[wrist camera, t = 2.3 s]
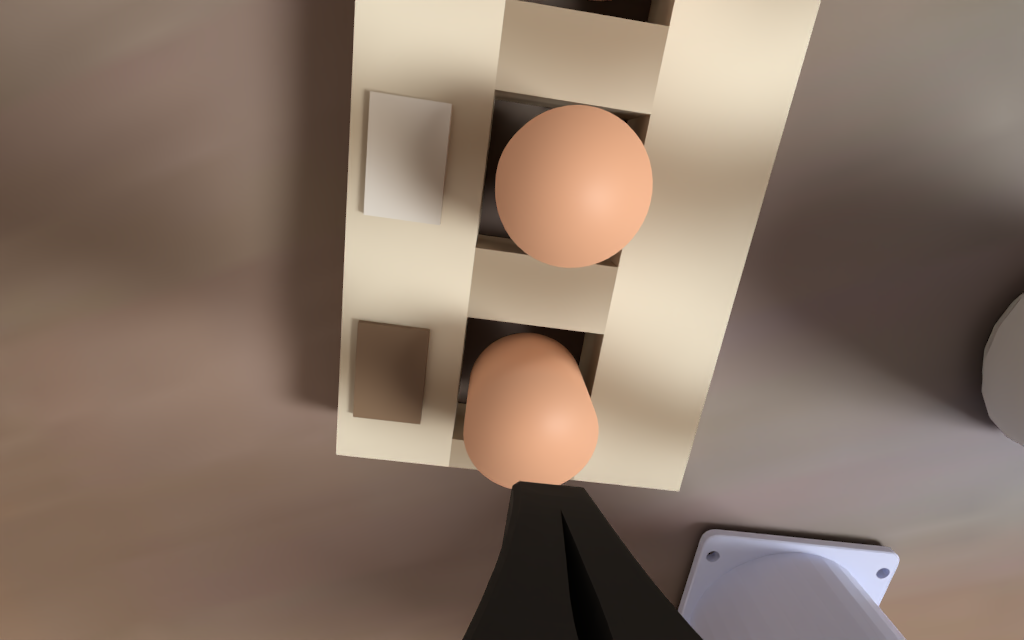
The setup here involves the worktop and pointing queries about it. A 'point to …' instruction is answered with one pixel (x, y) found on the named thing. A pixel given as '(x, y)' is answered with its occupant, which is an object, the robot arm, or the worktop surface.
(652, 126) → the button board
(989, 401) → the can
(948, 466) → the worktop surface
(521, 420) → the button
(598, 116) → the button mid
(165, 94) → the worktop surface
